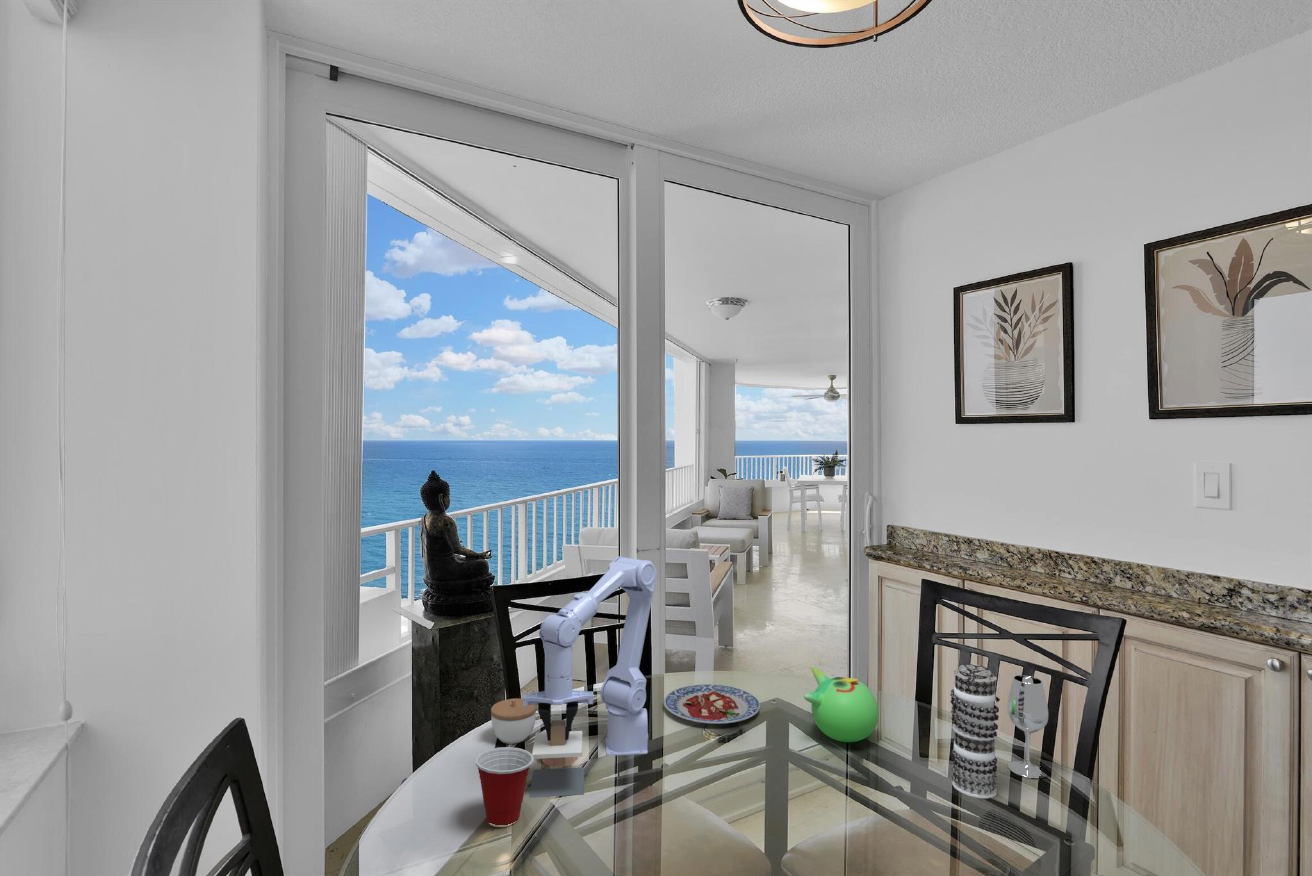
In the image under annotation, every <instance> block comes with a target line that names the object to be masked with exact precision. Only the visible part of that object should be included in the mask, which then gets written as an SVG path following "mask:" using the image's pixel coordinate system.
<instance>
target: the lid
mask: <svg viewBox="0 0 1312 876" xmlns="http://www.w3.org/2000/svg"><path fill="white" fill-rule="evenodd" d="M565 731H566V719H558V720H557V719H556V720H552V719H551V741H548V740H547V733H546V731H545V732H544V731H543V732H535V737H534V741H533V742H534V743H533V746H532V747H533V748H532V753H531V754H532V755H533V759H534V760H535V759H542V758H561V757H578V758H580V757H583V730H574V731H573V730H572V731H571V730H570V732H569V740H565Z"/></svg>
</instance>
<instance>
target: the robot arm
mask: <svg viewBox="0 0 1312 876" xmlns="http://www.w3.org/2000/svg"><path fill="white" fill-rule="evenodd" d="M657 575H658V570H657V569H656V566H655V565H654V563H653V562H652V561H651V560H648V559H647V560H644V559H643V560H642V559H636V558H630V557H625V556H621V555H620V556H617V557H616V558H614V559H613V561H612V562H609V564H608V567H607V571H606V572H605V573H604V575H602V576H601V577H600V579H599V580H598V581H597V582H596V583H595V584H594V586H592V587H591V588H590V589H589V591H588V592H580V593H576V594H574V596H573V599H571V600H570V602H568V603H567V604H566V605H565V606H563V607H562V608H561V609H559V610H558V612H557V613H556V614H550V615H548V616H547V617H546V618H544V619H543V620H542V622H541V624H540V629H538V635H539V638H540V639H541V640H542V645H543V646H542V647H543V649H544V690H543V691H538V692H537V691H536V692H531V693H524V694H523V696H522V699H523V707H526V706H528V705H536V706H537V712H538V716H540V719H541V721H542V724H543V726H544V728H545V732H546V733H547V740H548V741H551V721H552V718H551V717H552V705H553V706H562V705H564V704H565V705H566V708H565V720H566V731H565V740H569V732H570V731H571V728H572V725H573V722H574V719H575V717H576V715H577V713H578V710H579V704H588V705H593V704H594V691H584V690H575V689H573V645H574V644H575V643H576V641H577V640H578V637H579V633H580V632H581V631H582V628H583V627H584V625H586V624H587V623H588V622H589V621H590V620H591V619H592V618H593V617H594V616H595V615H596V614H597V612H598V605H599V604H601V603H602V602H603V601H604V600H606V599H607V598H608V597H609V596H610V595H611V594H612V593H614V592H615V591H616V590H618V589H619V588H621V589H622V590H623V591H625V593H626V595H627V596H628V599H629V600H628V605H627V610H626V614H625V620H624V625H623V631H622V636H621V641H620V644H619V645H620V646H619V651H618V656H617V661H616V665H614V666H613V667H611V668H610V669H608V670H607V672H606V677H605V679H604V681H603V682H602V685H601V688H600V698H601V701H602V702H603V703H604V704H605V709H607V738H605V754H606V756H627V755H628V756H629V755H630V756H631V755H647V754H648V753H649V750H648V742H649V733H648V731H649V729H648V728H649V727H648V726H649V725H648V710H647V708H643V707H644V705H645V703H646V701H647V691H646V688H647V687H646V686H647V679H646V677H645V676H644V674H643V673H642V672H641V670H640V665H641V659H642V655H643V649H644V644H645V639H646V632H647V628H648V622H649V618H650V611H651V607H652V606H651V605H652V601H653V600H652V599H653V596H654V592H655V587H656V582H657V577H658V576H657Z"/></svg>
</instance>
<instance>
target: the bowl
mask: <svg viewBox="0 0 1312 876" xmlns="http://www.w3.org/2000/svg"><path fill="white" fill-rule="evenodd" d="M578 759H579V757H561V758H541V762H543V764H545V765H546V766H550V767H553V768H554V767H557V768H559V767H566V766H570V765H572V764H574V763H575V762H576V761H577V760H578Z"/></svg>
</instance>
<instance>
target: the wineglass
mask: <svg viewBox="0 0 1312 876" xmlns="http://www.w3.org/2000/svg"><path fill="white" fill-rule="evenodd" d="M1012 678H1013V679H1012V682H1011V686H1010V690H1009V694H1008V699H1007V714H1008V718H1009V719H1010V721H1011V722H1012V723H1013V725H1015V726H1016V727H1017V728H1018V729H1019V730H1021V731H1023V733H1024V737H1025V738H1024V739H1025V760H1014V761H1010V762H1009V763H1008V764H1007V767H1008V769H1009V771H1011V772H1012V773H1014V774H1016V775H1018V776H1021V777H1023V778H1027V779H1031V778H1034V777H1035V778H1038V776H1041V775H1040V774H1042V773H1041V770H1040V769H1039V768H1038V766H1039V765H1038V766H1036V765H1037V764H1036V765H1034V764H1035V763H1033V764H1031V763H1032V762H1031V761H1030V744H1031V743H1030V742H1031V741H1030V738H1031V734H1033V733H1037V732H1039V731H1041V730H1043V729H1044V728H1045V727H1046V726H1047V724H1048V721H1049V708H1048V701H1047V697H1046V696H1047V695H1046V693H1045V688H1044V687H1045V686H1044V683H1043V681H1042V680H1041V679H1039V678H1038V677H1034V676H1032V675H1031V676H1030V675H1025V674H1024V675H1022V674H1019V675H1015V676H1013V677H1012ZM1023 761H1025V762H1023ZM1033 776H1034V777H1033Z"/></svg>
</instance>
